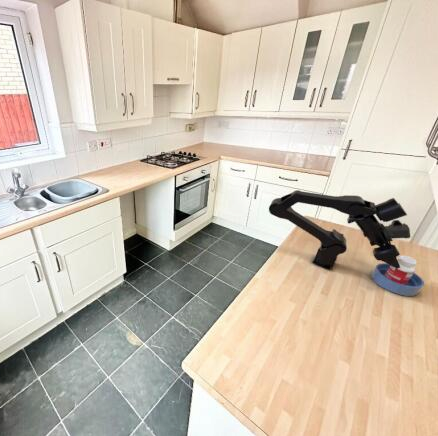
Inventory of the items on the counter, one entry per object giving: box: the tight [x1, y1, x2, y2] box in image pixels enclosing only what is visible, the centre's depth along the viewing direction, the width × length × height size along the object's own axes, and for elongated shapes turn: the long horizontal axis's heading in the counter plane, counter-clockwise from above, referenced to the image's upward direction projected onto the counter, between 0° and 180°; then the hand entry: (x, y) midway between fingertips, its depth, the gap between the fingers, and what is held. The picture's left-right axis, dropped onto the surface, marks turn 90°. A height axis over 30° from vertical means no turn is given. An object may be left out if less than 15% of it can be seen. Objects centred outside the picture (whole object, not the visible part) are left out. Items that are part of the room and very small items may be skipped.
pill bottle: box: [384, 254, 418, 285], centre depth 89 cm, size 6×6×11 cm
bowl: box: [370, 262, 425, 297], centre depth 91 cm, size 13×13×4 cm
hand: (395, 260), depth 88 cm, fingers open, 9 cm apart
